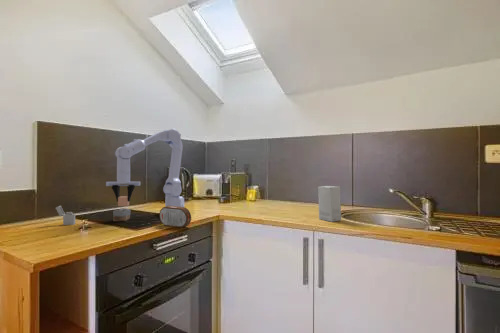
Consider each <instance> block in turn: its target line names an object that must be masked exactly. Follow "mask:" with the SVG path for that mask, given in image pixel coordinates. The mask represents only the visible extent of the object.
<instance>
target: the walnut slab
mask: <svg viewBox="0 0 500 333" xmlns="http://www.w3.org/2000/svg"><path fill="white" fill-rule="evenodd" d="M112 216H113V215H112ZM130 219H131V215H127V216H124V217H120V216H113V217H112V220H113V221H112V222H127V221H128V220H130Z"/></svg>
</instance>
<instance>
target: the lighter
mask: <svg viewBox="0 0 500 333" xmlns="http://www.w3.org/2000/svg"><path fill="white" fill-rule="evenodd" d="M55 210H56V211H57V215H59V217H62V220H63V222H62V223H63V226H69V225H70V226H75V225H76V214H75V213H73V212H72V211H66V212H65V211H64V210H63V208H62V205H59V206H56V207H55Z"/></svg>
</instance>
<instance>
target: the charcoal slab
mask: <svg viewBox="0 0 500 333" xmlns="http://www.w3.org/2000/svg"><path fill="white" fill-rule="evenodd" d="M131 210H132V209H131V208H129V209H128V208H119V209H116V210H113V211H112V214H113V215H112V216H120V217H124V216H127V215H130V216H131V214H132V213H131Z"/></svg>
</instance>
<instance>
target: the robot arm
mask: <svg viewBox="0 0 500 333" xmlns="http://www.w3.org/2000/svg"><path fill="white" fill-rule="evenodd" d="M158 141H163V142H164V143H166V144H167V145H168V146H169V147H170V148H171V155H170V164H169V170H168V171H169V173H168V178H167V179H166V180H165V184H164V186H163V189H162V191H163V193H164V194H165V197H164V198H165V199H164V200H165V202H164V203H165V206H164V207H166V206H179V207H185V198H184V196H180V195H181V193H182V192H183V191H182V182H181V180H180V172H181V165H182V157H183V149H184V146H183V142H182V138H181V133H180V132H179V130H177V128H171V129H164V130H162V131H158V132H156V133H153V134H152V135H150V136H148V137H146V138H143V139H140V138H138V139H137V138H134V139H133V141H131V142H129V143H125V144H123V146H119V147H118V148H116V150H115V152H114V156H115V157H116V181H106V182H105V187H111V190H112V191H113V193H114V195H115V198H116V202H117V203H118V197H120V191H121V190H120V189H121V187H125V186H126V188H127V196H128V201H129V202H130V201H131V197H132V195H133V194H132V193H133V192H134V189H135V188H136V187H137V186H141V181H135V180H134V181H133V180H131V157H132V156H134V155H136V154H138V153H140V152H142V151H145V150H146V146H149V145H151V144H154V143H155V142H158Z"/></svg>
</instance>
